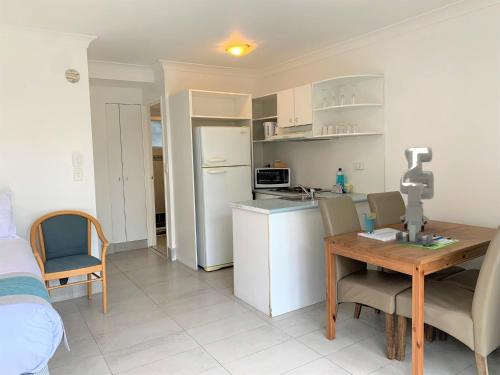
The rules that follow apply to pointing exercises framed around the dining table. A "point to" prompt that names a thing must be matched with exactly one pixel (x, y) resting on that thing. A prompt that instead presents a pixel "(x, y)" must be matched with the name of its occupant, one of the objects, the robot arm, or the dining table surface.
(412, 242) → the rack
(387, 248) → the dining table surface
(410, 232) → the pale green rectangular prism
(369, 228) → the cup
